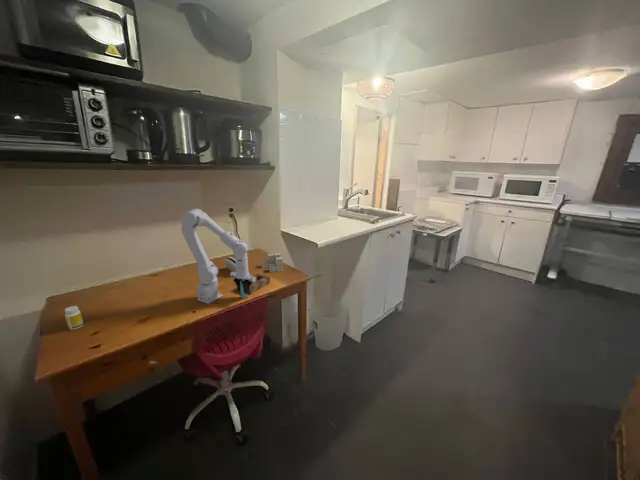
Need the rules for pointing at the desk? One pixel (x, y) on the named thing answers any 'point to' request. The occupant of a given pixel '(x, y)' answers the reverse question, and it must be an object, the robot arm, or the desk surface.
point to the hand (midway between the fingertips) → (243, 292)
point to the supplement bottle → (73, 317)
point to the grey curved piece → (230, 264)
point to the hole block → (258, 283)
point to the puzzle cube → (273, 262)
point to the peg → (242, 291)
